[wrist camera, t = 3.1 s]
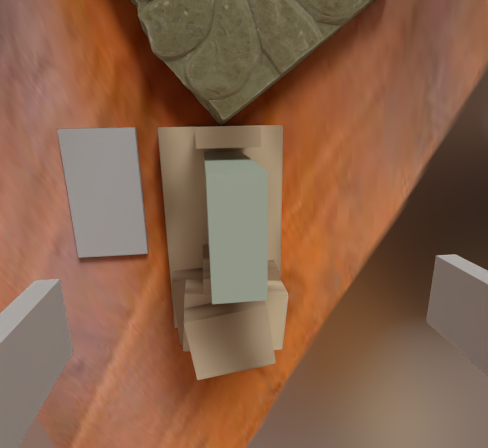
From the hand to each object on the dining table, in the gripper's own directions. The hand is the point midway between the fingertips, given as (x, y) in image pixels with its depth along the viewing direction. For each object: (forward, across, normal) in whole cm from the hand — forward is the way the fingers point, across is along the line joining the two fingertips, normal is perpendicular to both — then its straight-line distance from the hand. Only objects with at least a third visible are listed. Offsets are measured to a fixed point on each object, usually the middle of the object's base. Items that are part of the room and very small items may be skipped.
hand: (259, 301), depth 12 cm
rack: (+20, 0, -3) cm, 20 cm away
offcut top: (+13, 0, -9) cm, 16 cm away
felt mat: (+20, -10, 0) cm, 22 cm away
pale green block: (+18, 0, 0) cm, 18 cm away
